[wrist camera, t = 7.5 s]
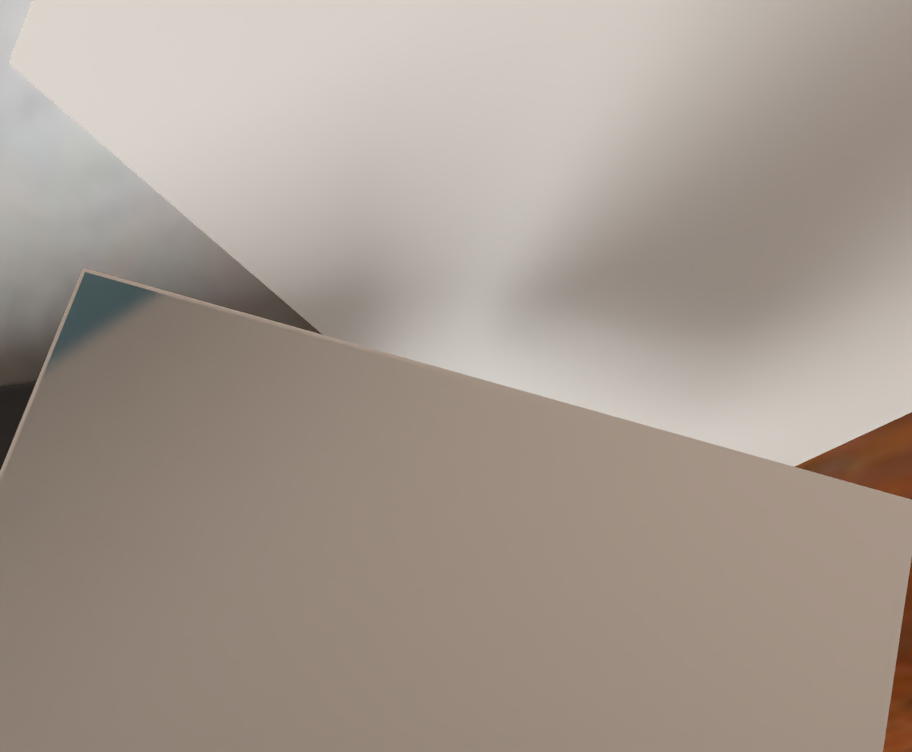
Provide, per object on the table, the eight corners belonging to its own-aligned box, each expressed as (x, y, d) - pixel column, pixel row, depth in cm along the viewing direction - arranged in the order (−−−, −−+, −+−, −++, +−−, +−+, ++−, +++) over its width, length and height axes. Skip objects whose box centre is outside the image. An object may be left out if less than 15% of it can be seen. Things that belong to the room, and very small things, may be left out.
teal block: (543, 484, 15) (920, 501, 3) (496, 667, 15) (747, 1655, 2) (372, 435, 16) (83, 267, 3) (317, 614, 15) (-329, 1279, 2)
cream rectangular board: (1104, 301, 14) (1122, 313, 13) (587, 549, 22) (587, 562, 21) (396, -867, 8) (383, -923, 7) (26, 60, 15) (7, 63, 15)
